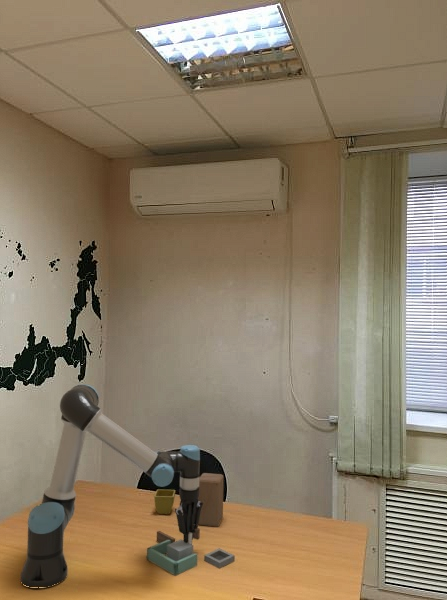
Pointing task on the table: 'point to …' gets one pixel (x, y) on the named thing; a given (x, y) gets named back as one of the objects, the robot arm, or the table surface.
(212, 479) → the wooden block
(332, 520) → the table surface
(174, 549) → the block
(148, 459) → the robot arm
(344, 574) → the table surface
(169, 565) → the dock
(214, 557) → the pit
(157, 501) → the flower pot
